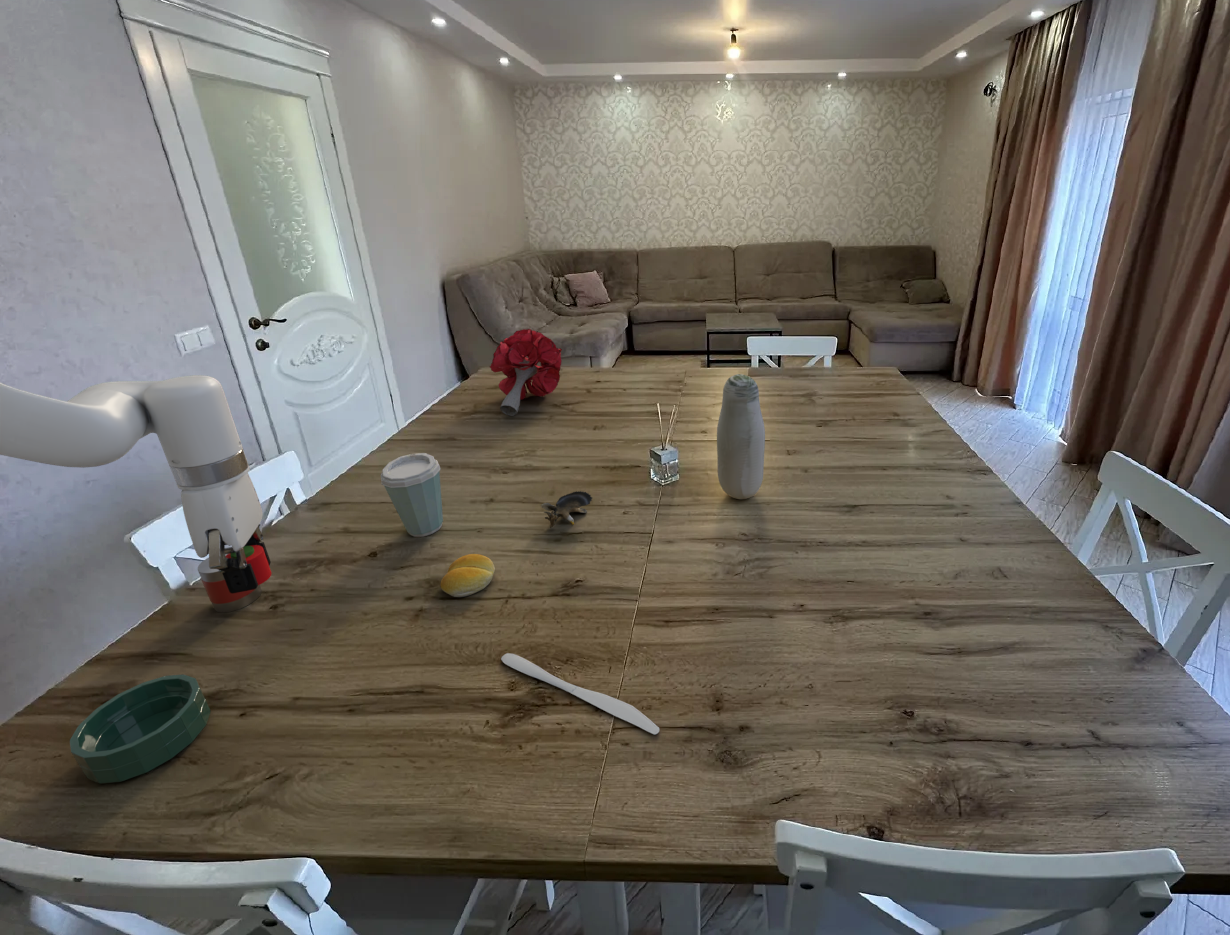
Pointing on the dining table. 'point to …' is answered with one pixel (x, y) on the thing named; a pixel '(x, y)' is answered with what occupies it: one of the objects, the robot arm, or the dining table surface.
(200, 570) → the can
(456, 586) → the bread roll
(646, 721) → the butter knife
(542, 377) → the bouquet
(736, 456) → the white bottle
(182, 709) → the bowl
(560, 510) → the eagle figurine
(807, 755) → the dining table surface
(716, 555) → the dining table surface
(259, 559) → the red short cylinder
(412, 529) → the disposable coffee cup
